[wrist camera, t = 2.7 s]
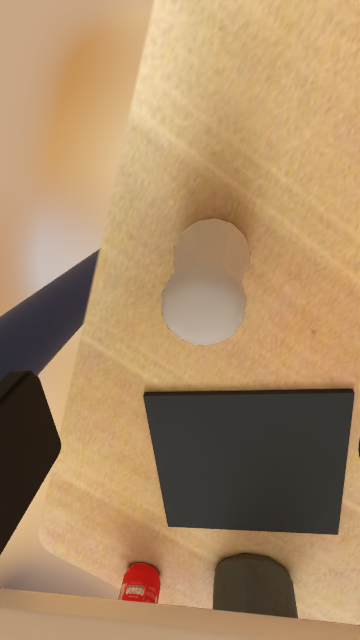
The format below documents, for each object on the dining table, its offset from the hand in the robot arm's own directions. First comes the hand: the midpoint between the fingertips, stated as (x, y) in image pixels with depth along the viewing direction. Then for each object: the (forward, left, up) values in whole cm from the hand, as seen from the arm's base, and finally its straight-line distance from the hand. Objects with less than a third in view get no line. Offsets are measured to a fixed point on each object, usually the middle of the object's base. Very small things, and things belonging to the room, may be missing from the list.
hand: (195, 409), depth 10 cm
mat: (+2, -24, -20) cm, 31 cm away
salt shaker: (0, 0, -20) cm, 20 cm away
